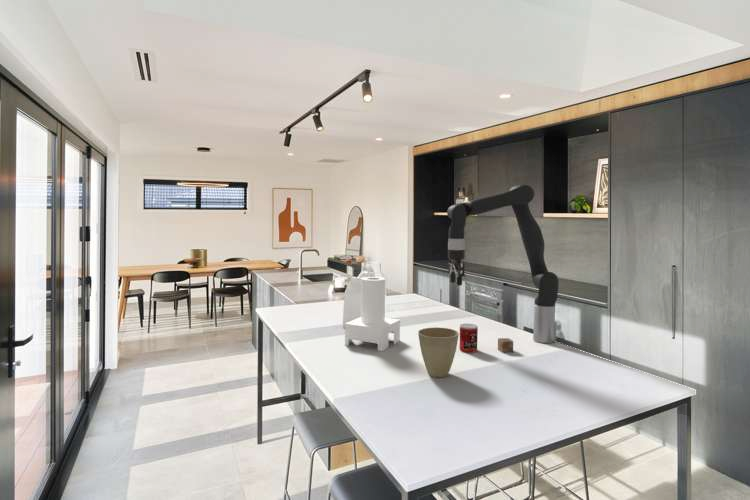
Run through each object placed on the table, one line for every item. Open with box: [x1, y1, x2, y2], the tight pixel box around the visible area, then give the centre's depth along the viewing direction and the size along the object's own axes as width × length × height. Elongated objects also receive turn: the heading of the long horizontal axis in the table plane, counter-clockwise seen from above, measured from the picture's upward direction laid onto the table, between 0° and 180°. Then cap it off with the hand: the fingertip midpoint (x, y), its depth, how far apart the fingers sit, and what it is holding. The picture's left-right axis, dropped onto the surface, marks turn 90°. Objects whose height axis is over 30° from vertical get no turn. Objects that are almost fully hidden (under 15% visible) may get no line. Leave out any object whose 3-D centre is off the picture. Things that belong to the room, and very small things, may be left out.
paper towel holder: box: [344, 276, 401, 352], centre depth 205 cm, size 19×19×30 cm
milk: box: [342, 276, 362, 329], centre depth 237 cm, size 12×12×26 cm
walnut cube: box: [497, 337, 514, 354], centre depth 195 cm, size 5×5×5 cm
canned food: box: [459, 323, 479, 354], centre depth 196 cm, size 8×8×11 cm
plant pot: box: [417, 326, 460, 378], centre depth 166 cm, size 15×15×16 cm
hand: (456, 283), depth 204 cm, fingers open, 8 cm apart
